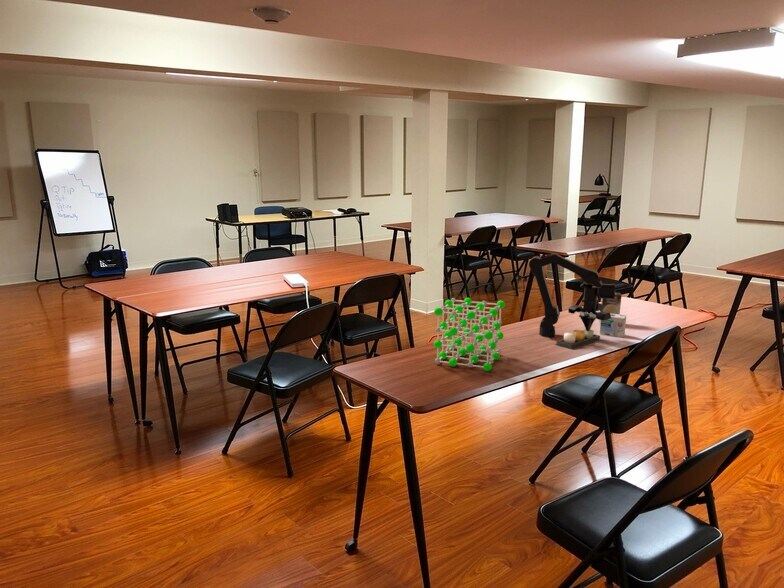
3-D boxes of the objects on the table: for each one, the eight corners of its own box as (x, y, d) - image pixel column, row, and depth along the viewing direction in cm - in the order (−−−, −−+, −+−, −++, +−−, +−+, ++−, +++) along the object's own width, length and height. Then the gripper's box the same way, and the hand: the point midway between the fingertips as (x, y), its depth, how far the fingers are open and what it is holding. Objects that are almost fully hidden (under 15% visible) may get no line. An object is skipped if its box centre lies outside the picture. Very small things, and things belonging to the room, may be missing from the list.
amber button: (570, 338, 272) (571, 331, 271) (577, 336, 275) (577, 329, 274) (580, 341, 268) (580, 333, 267) (586, 339, 271) (587, 331, 270)
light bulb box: (598, 337, 284) (600, 315, 282) (601, 333, 290) (603, 312, 288) (622, 340, 279) (624, 318, 277) (624, 336, 285) (626, 314, 283)
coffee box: (599, 324, 306) (602, 293, 302) (598, 321, 312) (601, 291, 308) (619, 325, 303) (621, 294, 300) (617, 322, 310) (620, 292, 306)
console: (553, 347, 269) (553, 340, 268) (583, 338, 283) (583, 331, 282) (572, 353, 261) (573, 345, 261) (602, 343, 275) (602, 336, 275)
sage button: (579, 338, 276) (580, 330, 276) (585, 336, 280) (586, 328, 279) (589, 340, 273) (589, 332, 272) (595, 338, 276) (595, 330, 275)
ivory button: (561, 341, 268) (561, 333, 267) (567, 339, 271) (568, 331, 270) (570, 344, 264) (571, 336, 263) (577, 342, 267) (578, 334, 266)
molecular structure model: (503, 354, 260) (506, 299, 255) (490, 373, 238) (492, 313, 232) (449, 347, 269) (451, 295, 264) (432, 365, 247) (433, 308, 241)
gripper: (619, 298, 270) (616, 332, 273) (582, 291, 284) (580, 323, 287) (605, 302, 263) (602, 336, 266) (568, 294, 277) (566, 327, 281)
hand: (587, 330), depth 275 cm, fingers closed, pressing on sage button
